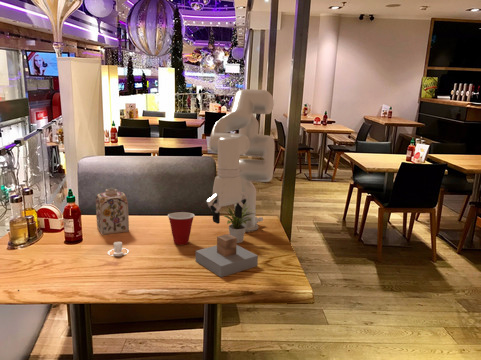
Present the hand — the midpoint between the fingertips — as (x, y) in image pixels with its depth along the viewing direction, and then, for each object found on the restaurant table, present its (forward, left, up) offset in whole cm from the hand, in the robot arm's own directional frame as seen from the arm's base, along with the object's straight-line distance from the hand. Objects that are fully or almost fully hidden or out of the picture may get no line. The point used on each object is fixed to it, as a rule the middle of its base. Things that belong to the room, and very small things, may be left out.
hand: (227, 219), depth 144 cm
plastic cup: (+3, -27, -17) cm, 32 cm away
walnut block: (0, 0, -12) cm, 12 cm away
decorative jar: (+20, -57, -17) cm, 62 cm away
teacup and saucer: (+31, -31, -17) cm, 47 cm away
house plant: (-16, -15, -17) cm, 27 cm away
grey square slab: (0, 0, -16) cm, 16 cm away
